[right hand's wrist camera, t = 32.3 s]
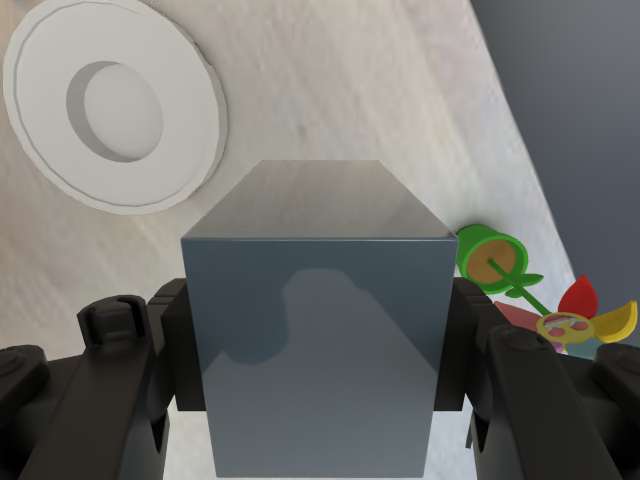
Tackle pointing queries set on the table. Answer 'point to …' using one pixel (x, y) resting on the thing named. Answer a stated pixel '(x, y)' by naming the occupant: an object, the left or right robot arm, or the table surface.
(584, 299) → the potted flower
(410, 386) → the block
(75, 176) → the ashtray
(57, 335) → the table surface
